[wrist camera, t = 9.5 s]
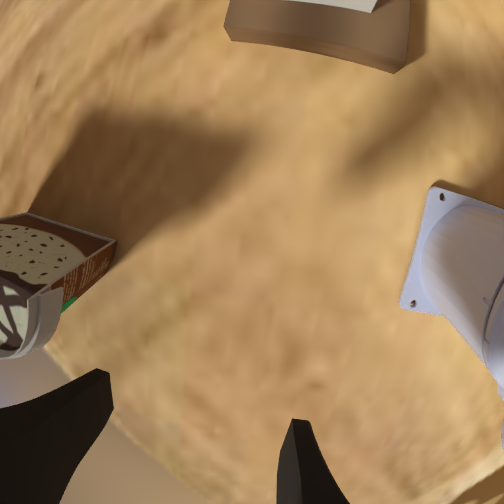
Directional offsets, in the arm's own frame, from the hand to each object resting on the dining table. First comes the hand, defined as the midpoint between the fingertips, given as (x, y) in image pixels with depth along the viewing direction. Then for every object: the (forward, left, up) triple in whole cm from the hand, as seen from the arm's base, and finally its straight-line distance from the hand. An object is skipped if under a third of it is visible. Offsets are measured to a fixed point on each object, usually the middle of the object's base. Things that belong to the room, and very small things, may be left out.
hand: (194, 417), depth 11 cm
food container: (+14, 0, -11) cm, 17 cm away
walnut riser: (-2, -22, -11) cm, 24 cm away
